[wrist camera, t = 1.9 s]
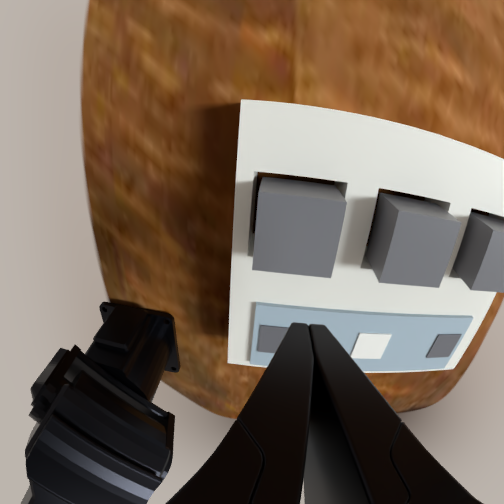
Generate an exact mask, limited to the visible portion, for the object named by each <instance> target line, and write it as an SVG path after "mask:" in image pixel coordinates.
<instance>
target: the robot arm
mask: <svg viewBox="0 0 504 504" xmlns="http://www.w3.org/2000/svg"><path fill="white" fill-rule="evenodd" d="M100 312H101V315H102V319H103V322H104V324H103V325H102V326H101V328H100V329H99V331H98V332H97V333H96V335H95V336H94V338H93V340H94V341H93V343H92V344H91V346H90V347H89V349H88V350H87V352H86V353H85V354H84V353H83V352H82V351H80V350H81V349H80V348H79V347H78V346H76V345H74V347H73V348H72V349H71V351H69V350H66V349H62V348H60V349H59V351H58V352H57V353H56V354H55V356H54V357H53V359H52V360H51V362H50V363H49V364H48V365H47V367H46V368H45V369H44V371H43V372H42V373H41V375H40V376H39V377H38V378H37V380H36V381H35V383H34V384H33V386H32V387H31V394H32V398H33V402H32V404H31V405H32V406H33V409H32V411H31V412H30V414H29V416H30V417H31V418H33V419H34V420H35V421H37V423H36V425H35V427H34V428H33V430H32V432H31V434H30V437H29V440H28V443H27V446H26V449H25V457H26V470H27V477H28V479H29V482H30V486H29V489H28V490H27V492H26V494H25V496H24V498H23V501H22V502H21V504H147V502H148V500H149V498H150V497H151V495H152V494H153V492H154V491H155V490H156V488H157V487H158V486H159V485H160V484H161V483H162V481H163V480H164V478H165V477H166V475H167V473H168V471H169V469H170V466H171V463H172V457H173V439H174V422H175V415H173V414H171V413H170V412H166V411H164V410H163V409H161V408H159V407H158V406H156V405H155V404H153V403H152V400H153V398H154V395H155V393H156V390H157V388H158V385H159V383H160V380H161V377H162V375H163V373H164V370H165V371H170V372H178V371H179V369H180V361H179V354H178V347H177V339H176V330H175V322H174V317H173V316H172V315H170V314H167V313H162V312H156V311H150V310H145V309H139V308H134V307H129V306H124V305H119V304H114V303H109V302H102V304H101V305H100ZM166 319H167V320H168V321H167V320H166ZM401 421H402V420H401V418H400V417H399V416H398V415H397V413H396V412H395V411H394V410H393V408H392V407H391V406H390V405H389V403H388V402H387V401H386V400H385V398H384V397H383V396H382V395H381V393H380V392H379V391H378V390H377V388H376V387H375V386H374V385H373V383H372V382H371V381H370V380H369V378H368V377H367V376H366V375H365V373H364V372H363V371H362V370H361V369H360V367H359V366H358V365H357V364H356V362H355V361H354V360H353V359H352V357H351V356H350V355H349V354H348V352H347V351H346V350H345V349H344V348H343V346H342V345H341V344H340V343H339V341H338V340H337V339H336V338H335V337H334V335H333V334H332V333H331V332H330V330H329V329H328V328H327V327H326V326H325V325H322V324H309V325H308V324H306V323H297V322H293V323H291V325H290V326H289V328H288V330H287V332H286V334H285V336H284V338H283V339H282V341H281V343H280V345H279V347H278V349H277V350H276V352H275V354H274V356H273V358H272V359H271V361H270V363H269V365H268V367H267V368H266V370H265V372H264V374H263V375H262V377H261V379H260V381H259V382H258V384H257V386H256V387H255V389H254V391H253V392H252V394H251V396H250V398H249V399H248V401H247V403H246V404H245V406H244V408H243V409H242V411H241V413H240V414H239V416H238V417H237V420H236V421H235V422H234V424H233V425H232V427H231V428H230V430H229V432H228V433H227V435H226V436H225V437H224V439H223V440H222V442H221V443H220V445H219V446H218V447H217V449H216V450H215V451H214V453H213V454H212V455H211V456H210V458H209V459H208V460H207V461H206V462H205V463H204V465H203V466H202V467H201V468H200V469H199V470H198V472H197V473H196V474H195V475H194V476H193V477H192V478H191V479H190V480H189V481H188V482H187V483H186V484H185V485H184V486H183V487H182V488H181V489H180V490H179V491H178V492H177V493H176V494H175V495H174V496H173V497H172V498H171V499H170V500H169V501H168V502H167V503H166V504H300V499H301V492H302V485H303V478H304V496H305V504H483V503H481V502H480V501H478V500H477V499H476V498H474V497H473V496H472V495H471V494H470V493H469V492H468V491H467V490H466V489H465V488H464V487H463V486H462V485H461V484H460V483H458V481H457V480H456V479H455V478H454V477H453V476H451V474H449V472H448V471H447V470H445V468H444V467H442V466H441V465H440V464H439V463H438V461H437V460H436V459H435V458H434V457H433V456H432V455H431V454H430V453H429V452H428V451H427V450H426V449H425V448H424V446H423V445H422V444H421V443H420V442H419V440H418V439H417V438H416V437H415V436H414V435H413V433H412V432H411V431H410V429H408V427H407V426H406V425H405V423H404V422H401Z"/></svg>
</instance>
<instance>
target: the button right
mask: <svg viewBox="0 0 504 504" xmlns="http://www.w3.org/2000/svg"><path fill="white" fill-rule="evenodd" d="M452 268H453V269H454V271H455V272H456V273H457V274H458V275H459V277H460V278H461V279H462V280H463V281H464V283H465V284H466V285H467V286H468V287H469V289H470V290H474V291H489V292H504V220H500V219H496V218H493V217H489V216H485V215H481V214H478V213H474V212H470V215H469V219H468V222H467V226H466V229H465V232H464V235H463V238H462V241H461V244H460V247H459V250H458V253H457V256H456V259H455V262H454V264H453V267H452Z"/></svg>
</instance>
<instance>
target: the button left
mask: <svg viewBox="0 0 504 504" xmlns="http://www.w3.org/2000/svg"><path fill="white" fill-rule="evenodd" d="M346 205H347V202H346V200H345V199H344V197H343V196H342V194H341V193H340V191H339V190H338V189H337V187H336V186H335V185H328V184H321V183H313V182H305V181H297V180H289V179H280V178H270V177H263V178H262V181H261V185H260V188H259V193H258V205H257V217H256V228H255V240H254V252H253V264H252V270H256V271H266V272H275V273H284V274H294V275H304V276H314V277H324V278H331V276H332V272H333V268H334V263H335V259H336V254H337V250H338V245H339V241H340V236H341V231H342V226H343V221H344V216H345V210H346Z"/></svg>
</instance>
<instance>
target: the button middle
mask: <svg viewBox="0 0 504 504" xmlns="http://www.w3.org/2000/svg"><path fill="white" fill-rule="evenodd" d="M460 227H461V222H460V221H459V220H458V219H456V218H455V217H454V216H452V215H451V214H450V213H448V212H447V211H446V210H444V209H443V208H442V207H440V206H439V205H438V204H435V203H431V202H426V201H421V200H416V199H411V198H406V197H401V196H396V195H390V194H385V193H380V195H379V199H378V204H377V209H376V214H375V218H374V222H373V227H372V231H371V235H370V239H369V243H368V247H367V251H366V255H365V256H366V258H367V260H368V261H369V263H370V265H371V267H372V269H373V272H374V274H375V276H376V278H377V280H378V282H379V283H387V284H399V285H411V286H423V287H435V288H439V286H440V284H441V281H442V279H443V276H444V274H445V271H446V268H447V266H448V263H449V260H450V257H451V255H452V252H453V249H454V246H455V243H456V240H457V237H458V233H459V230H460Z"/></svg>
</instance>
